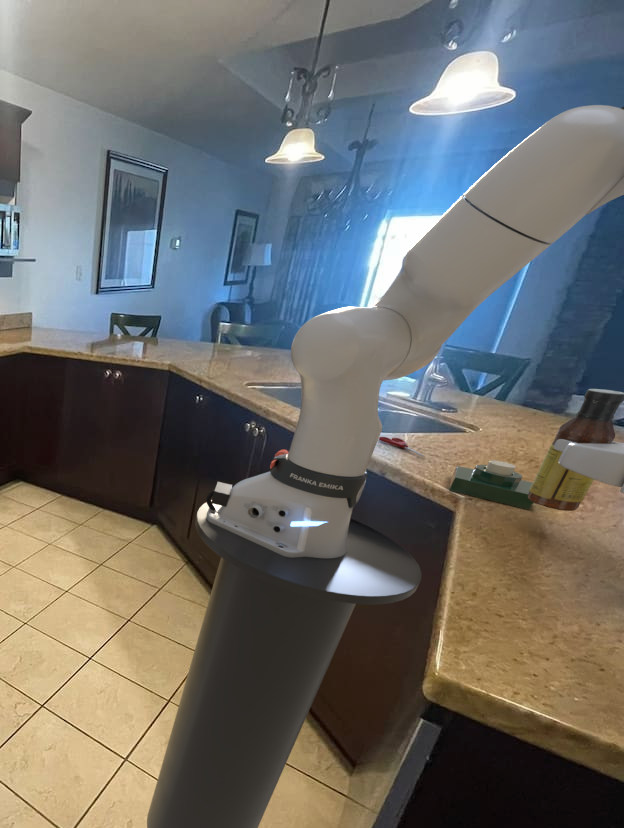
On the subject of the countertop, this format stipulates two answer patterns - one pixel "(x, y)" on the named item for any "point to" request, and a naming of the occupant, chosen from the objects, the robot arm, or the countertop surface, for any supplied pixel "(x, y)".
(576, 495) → the sauce bottle
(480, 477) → the base
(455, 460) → the countertop surface
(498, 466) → the white short cylinder
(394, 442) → the scissors
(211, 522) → the robot arm
